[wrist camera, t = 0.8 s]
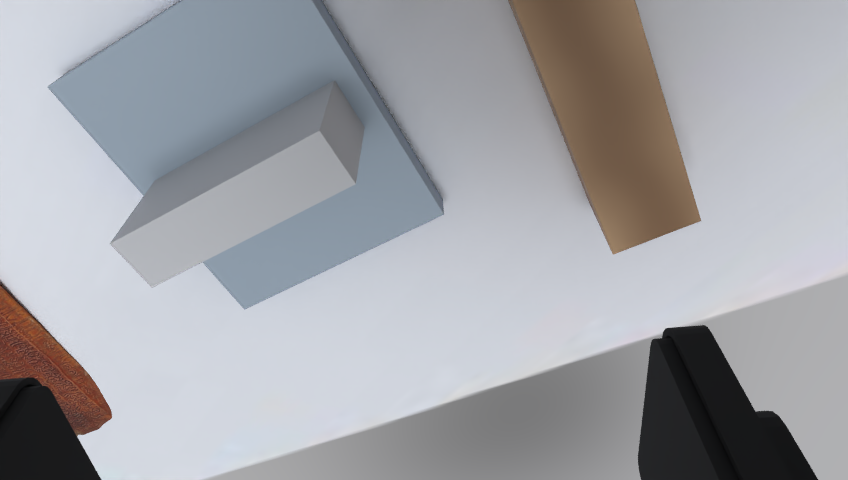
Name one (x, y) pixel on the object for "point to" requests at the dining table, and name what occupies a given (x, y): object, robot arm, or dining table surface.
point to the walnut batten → (610, 114)
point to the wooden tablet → (48, 367)
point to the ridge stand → (248, 145)
